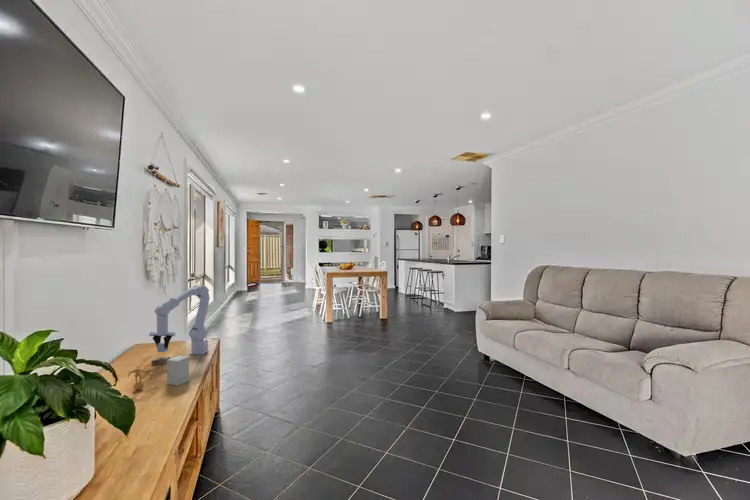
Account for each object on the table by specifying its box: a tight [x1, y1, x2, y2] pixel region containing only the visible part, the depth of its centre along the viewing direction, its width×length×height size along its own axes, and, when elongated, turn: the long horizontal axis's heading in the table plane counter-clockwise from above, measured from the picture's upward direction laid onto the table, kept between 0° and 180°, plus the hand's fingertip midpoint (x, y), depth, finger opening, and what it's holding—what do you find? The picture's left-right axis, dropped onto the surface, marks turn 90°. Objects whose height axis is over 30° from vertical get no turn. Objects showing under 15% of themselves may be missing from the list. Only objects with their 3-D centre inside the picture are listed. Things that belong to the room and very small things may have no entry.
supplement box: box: [166, 355, 190, 387], centre depth 184 cm, size 7×7×13 cm
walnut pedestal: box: [151, 356, 171, 366], centre depth 214 cm, size 7×7×3 cm
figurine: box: [127, 366, 149, 391], centre depth 173 cm, size 8×6×12 cm
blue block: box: [156, 341, 169, 353], centre depth 216 cm, size 4×4×5 cm
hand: (162, 347), depth 215 cm, fingers closed on blue block, 4 cm apart
